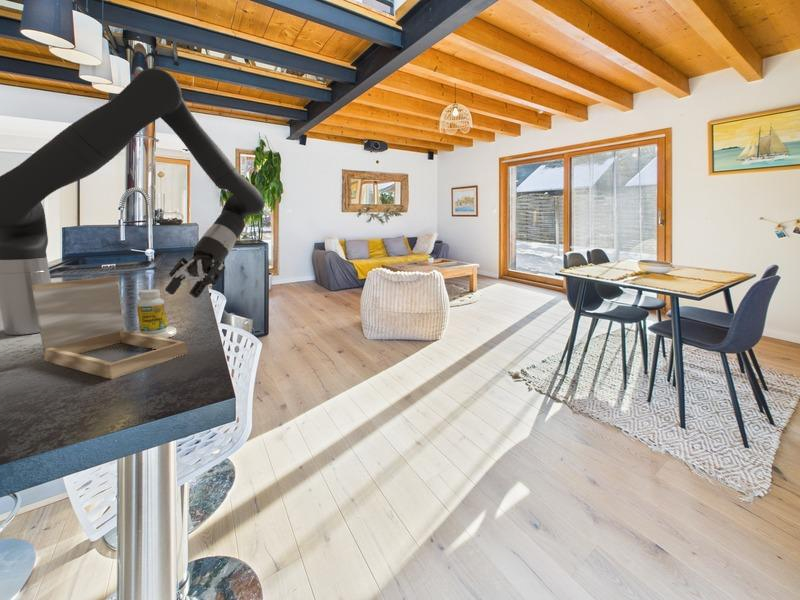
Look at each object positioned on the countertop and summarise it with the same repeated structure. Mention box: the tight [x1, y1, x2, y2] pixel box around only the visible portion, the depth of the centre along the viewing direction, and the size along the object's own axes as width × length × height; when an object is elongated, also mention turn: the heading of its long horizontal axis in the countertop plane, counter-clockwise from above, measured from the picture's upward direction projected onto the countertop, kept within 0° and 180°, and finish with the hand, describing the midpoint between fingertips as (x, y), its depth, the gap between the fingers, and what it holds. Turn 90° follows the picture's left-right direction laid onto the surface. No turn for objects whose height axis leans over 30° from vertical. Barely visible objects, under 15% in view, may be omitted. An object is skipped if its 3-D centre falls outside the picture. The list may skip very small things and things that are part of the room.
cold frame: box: [31, 275, 188, 380], centre depth 71 cm, size 20×14×14 cm
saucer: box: [132, 325, 178, 338], centre depth 86 cm, size 9×9×1 cm
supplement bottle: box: [136, 288, 168, 334], centre depth 85 cm, size 5×5×10 cm
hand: (180, 294), depth 91 cm, fingers open, 8 cm apart
